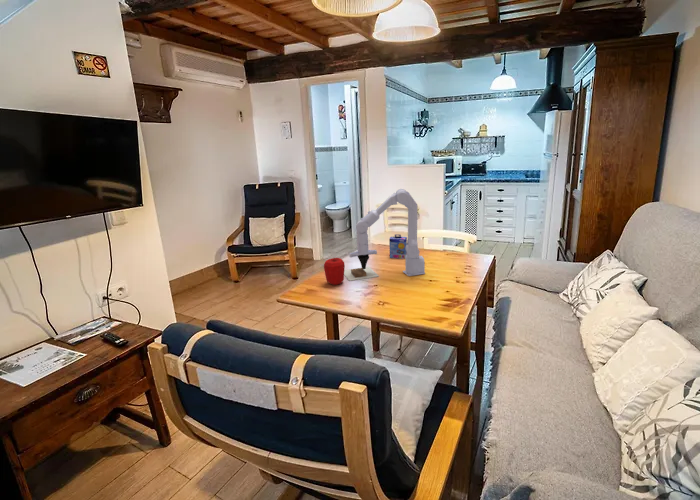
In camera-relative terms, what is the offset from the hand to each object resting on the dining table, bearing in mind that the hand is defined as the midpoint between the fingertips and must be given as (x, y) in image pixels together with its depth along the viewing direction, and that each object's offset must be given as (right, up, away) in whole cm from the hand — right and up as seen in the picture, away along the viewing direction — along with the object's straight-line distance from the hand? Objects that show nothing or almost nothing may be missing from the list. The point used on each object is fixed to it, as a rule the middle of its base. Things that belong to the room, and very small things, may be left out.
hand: (363, 268), depth 202 cm
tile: (0, -2, +1) cm, 2 cm away
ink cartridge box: (+22, +5, +27) cm, 35 cm away
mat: (-2, -3, +2) cm, 4 cm away
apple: (-15, -7, -9) cm, 18 cm away
